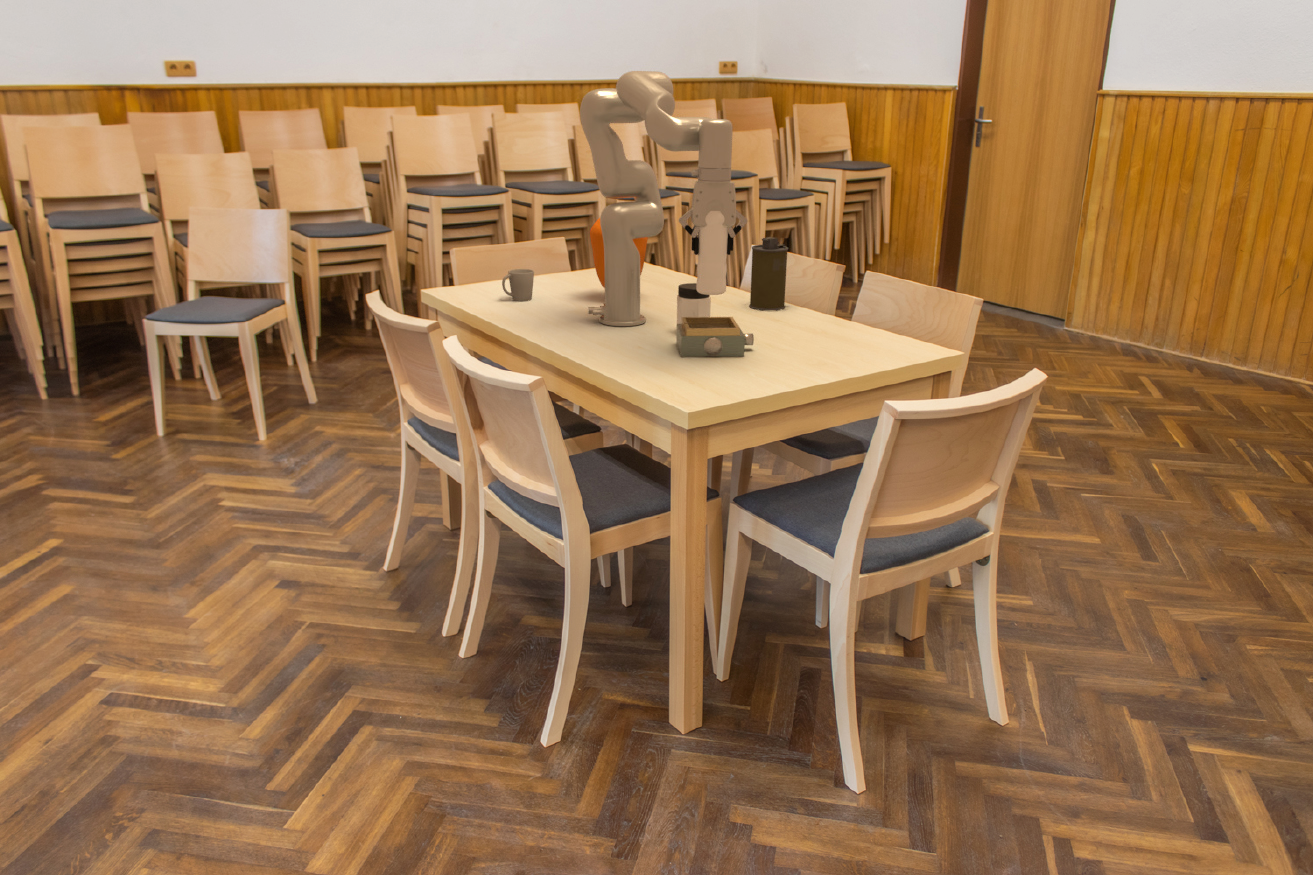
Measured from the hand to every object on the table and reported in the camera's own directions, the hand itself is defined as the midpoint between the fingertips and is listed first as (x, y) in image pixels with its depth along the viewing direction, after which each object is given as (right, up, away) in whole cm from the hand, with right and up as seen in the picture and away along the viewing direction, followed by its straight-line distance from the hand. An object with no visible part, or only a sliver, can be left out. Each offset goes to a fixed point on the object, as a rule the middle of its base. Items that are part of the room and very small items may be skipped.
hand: (712, 253), depth 228 cm
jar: (-3, -16, +26) cm, 30 cm away
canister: (+19, -5, +55) cm, 59 cm away
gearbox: (+1, -22, +8) cm, 23 cm away
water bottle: (0, -9, +3) cm, 9 cm away
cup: (-54, -2, +62) cm, 82 cm away
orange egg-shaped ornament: (-24, -2, +65) cm, 69 cm away
